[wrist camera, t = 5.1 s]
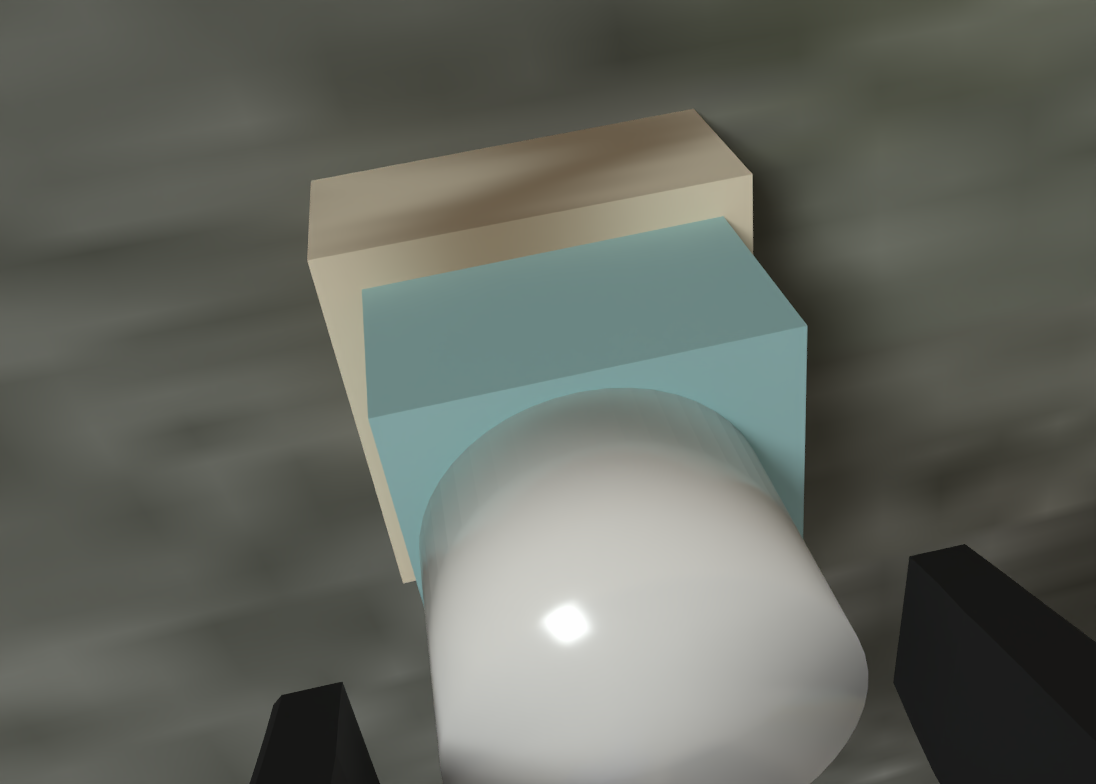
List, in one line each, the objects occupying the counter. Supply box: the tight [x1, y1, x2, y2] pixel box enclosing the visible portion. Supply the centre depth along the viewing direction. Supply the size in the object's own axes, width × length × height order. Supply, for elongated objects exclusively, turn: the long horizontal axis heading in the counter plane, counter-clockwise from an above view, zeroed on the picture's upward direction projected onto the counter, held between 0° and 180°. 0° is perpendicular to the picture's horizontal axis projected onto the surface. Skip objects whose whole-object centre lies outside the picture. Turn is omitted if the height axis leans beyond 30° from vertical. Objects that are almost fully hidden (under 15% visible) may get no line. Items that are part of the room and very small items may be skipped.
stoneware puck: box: [419, 388, 868, 784], centre depth 11 cm, size 4×4×3 cm
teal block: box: [362, 216, 807, 605], centre depth 14 cm, size 5×5×3 cm
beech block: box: [307, 109, 753, 583], centre depth 16 cm, size 6×6×3 cm
